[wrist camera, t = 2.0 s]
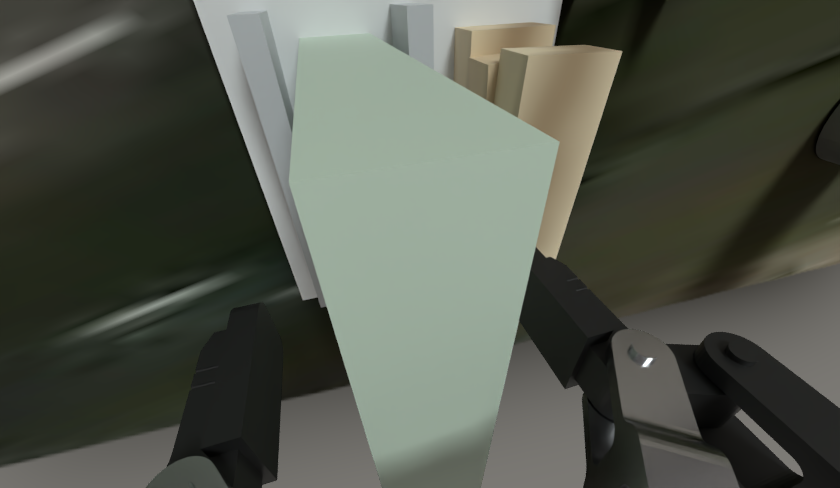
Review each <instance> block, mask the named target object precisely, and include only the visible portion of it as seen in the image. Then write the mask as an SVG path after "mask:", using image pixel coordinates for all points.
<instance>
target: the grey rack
mask: <svg viewBox="0 0 840 488" xmlns="http://www.w3.org/2000/svg"><path fill="white" fill-rule="evenodd" d="M193 1H194V4H195V6H196V9H197V12H198V15H199V17H200V20H201V23H202V26H203V28H204V31H205V34H206V37H207V39H208V42H209V45H210V48H211V50H212V53H213V56H214V58H215V61H216V64H217V67H218V69H219V72H220V75H221V78H222V80H223V83H224V86H225V89H226V91H227V94H228V97H229V100H230V102H231V105H232V108H233V110H234V113H235V116H236V119H237V121H238V124H239V127H240V130H241V132H242V135H243V138H244V141H245V143H246V146H247V149H248V152H249V154H250V157H251V160H252V162H253V165H254V168H255V171H256V173H257V176H258V179H259V182H260V184H261V187H262V190H263V193H264V195H265V198H266V201H267V204H268V206H269V209H270V212H271V215H272V217H273V220H274V223H275V225H276V228H277V231H278V234H279V236H280V239H281V242H282V245H283V247H284V250H285V253H286V256H287V258H288V261H289V264H290V267H291V269H292V272H293V275H294V277H295V280H296V283H297V286H298V288H299V291H300V294H301V297H302V299H303V300H308V299H312V298H317V297H318V300H319V303H320V306H321V308H322V307H326V303H325V299H324V296H323V293H322V290H321V286H320V283H319V280H318V277H317V273H316V270H315V267H314V263H313V260H312V257H311V254H310V250H309V247H308V244H307V241H306V237H305V234H304V231H303V228H302V224H301V221H300V218H299V215H298V211H297V208H296V205H295V201H294V198H293V195H292V192H291V188H290V185H289V173H290V159H291V145H292V131H293V117H294V103H295V90H296V76H297V62H298V48H299V38H307V37H322V36H336V35H351V34H365V33H370V34H372V35H374V36H375V37H377V38H379V39H381V40H382V41H384V42H386V43H388V44H389V45H391V46H393V47H395V48H396V49H398V50H400V51H402V52H403V53H405V54H407V55H409V56H410V57H412V58H414V59H416V60H417V61H419V62H421V63H423V64H424V65H426V66H428V67H430V68H431V69H433V70H435V71H437V72H438V73H440V74H442V75H444V76H445V77H447V78H449V79H451V80H452V81H454V43H455V27H468V26H482V25H497V24H512V23H526V22H535V23H543V24H552V25H556V28H555V34H554V39H553V45H552V46H554V44H555V39H556V33H557V28H558V22H559V17H560V11H561V6H562V1H563V0H193Z"/></svg>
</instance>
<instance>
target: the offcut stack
mask: <svg viewBox="0 0 840 488" xmlns="http://www.w3.org/2000/svg"><path fill="white" fill-rule="evenodd" d="M555 28H556V25H552V24H543V23H535V22H526V23H512V24H497V25H482V26H468V27H455V43H454V82H456V83H458V84H459V85H461V86H463V87H465V88H466V89H468V90H470V91H472V92H473V93H475V94H477V95H479V96H480V97H482V98H484V99H486V100H487V101H489V102H491V103H493V104H494V105H496V106H498V107H500V108H501V109H503V110H505V111H507V112H508V113H510V114H512V115H514V116H515V117H517V118H519V119H521V120H522V121H524V122H526V123H528V124H529V125H531V126H533V127H535V128H536V129H538V130H540V131H542V132H543V133H545V134H547V135H549V136H550V137H552V138H554V139H556V140H557V141H559V142H560V143H559V147H558V152H557V156H556V160H555V165H554V169H553V173H552V178H551V182H550V187H549V191H548V195H547V200H546V204H545V208H544V213H543V217H542V222H541V226H540V230H539V235H538V239H537V243H536V248H537V249H538V250H539V251H540V252H541V253H542V254H543V255H544V256H545V257H546V258H547V257H552V258H554V259H556V257H557V254H558V250H559V247H560V244H561V241H562V238H563V235H564V232H565V229H566V225H567V222H568V219H569V216H570V213H571V210H572V207H573V204H574V201H575V197H576V194H577V191H578V188H579V185H580V182H581V179H582V176H583V172H584V169H585V166H586V163H587V160H588V157H589V154H590V151H591V148H592V144H593V141H594V138H595V135H596V132H597V129H598V126H599V123H600V119H601V116H602V113H603V110H604V107H605V104H606V101H607V98H608V95H609V91H610V88H611V85H612V82H613V79H614V76H615V73H616V70H617V67H618V63H619V60H620V57H621V54H622V51H617V50H612V49H606V48H600V47H595V46H589V45H571V46H552V45H553V39H554V34H555Z"/></svg>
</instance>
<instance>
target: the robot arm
mask: <svg viewBox="0 0 840 488" xmlns="http://www.w3.org/2000/svg"><path fill="white" fill-rule="evenodd" d="M816 154H817V156H818V157H819V158H820V159H822V160H825V161H828V162H832V163H835V164H838V165H840V104H839V105H838V107H837V108H836V109H835V111H834V112H833V113H832V115H831V116H830V118H829V119H828V121H827V122H826V124H825V125H824V127H823V129H822V131H821V133H820V135H819V138H818V141H817V144H816ZM519 321H520V323H521V324H522V326H523V327H524V329H525V330H526V332H527V333H528V335H529V336H530V338H531V339H532V341H533V342H534V343H535V345H536V346H537V348H538V349H539V351H540V352H541V354H542V355H543V357H544V358H545V360H546V361H547V363H548V364H549V366H550V367H551V369H552V370H553V372H554V373H555V375H556V376H557V378H558V379H559V381H560V382H561V384H562V385H563V387H564V388H565V389H567V388H570V387H573V386H576V385H579V386H580V387H581V388H582V390H583V391H584V393H583V397H582V407H583V421H584V437H585V453H586V477H585V481H584V486H583V488H840V408H838V407H837V406H836V405H835V404H833V403H832V402H831V401H829V400H828V399H827V398H826V397H824V396H823V395H822V394H820V393H819V392H818V391H816V390H815V389H814V388H813V387H811V386H810V385H809V384H807V383H806V382H805V381H804V380H802V379H801V378H800V377H798V376H797V375H796V374H794V373H793V372H792V371H790V370H789V369H788V368H787V367H785V366H784V365H783V364H781V363H780V362H779V361H778V360H776V359H775V358H773V357H772V356H771V355H770V354H768V353H767V352H766V351H765V350H763V349H762V348H761V347H759V346H757V345H756V344H755V343H753V342H751V341H749V340H747V339H745V338H743V337H741V336H738V335H735V334H731V333H726V332H714V333H711V334H709V335H708V336H706V338H705V339H704V340H703V341H702V343H701V344H700V345H680V344H665V343H664V342H662V341H661V340H660V339H658V338H657V337H655V336H653V335H651V334H649V333H647V332H644V331H641V330H636V329H628V328H627V327H626V326H625V325H624V324H623V323H622V322H621V321H620V320H619V319H618V318H617V317H616V316H615V315H614V314H613V313H612V312H611V311H610V310H609V309H608V308H607V307H606V306H605V305H604V304H603V303H602V302H601V301H600V300H599V299H598V298H597V297H596V296H595V295H594V294H593V293H592V291H591V290H590V289H587V286H586V285H585V284H584V283H583V282H582V281H581V280H580V279H579V280H578V278H577V276H576V275H575V274H574V273H573V272H572V271H571V270H570V269H569V268H568V267H567V266H566V265H564V264H563V263H561V262H559V261H557V260H556V259H554V258H552V257H547V258H546V257H545V256H544V255H543V254H542V253H541V252H540V251H539V250H538V249H537V248H535V252H534V257H533V261H532V265H531V270H530V274H529V279H528V283H527V287H526V292H525V296H524V300H523V305H522V309H521V314H520V318H519ZM282 372H283V347H282V342H281V338H280V335H279V333H278V331H277V329H276V327H275V325H274V322H273V320H272V318H271V316H270V314H269V312H268V310H267V308H266V306H265V304H264V303H262V302H261V303H256V304H252V305H247V306H243V307H238V308H234V309H232V310H231V313H230V317H229V321H228V326H227V330H223V331H219V332H215V333H214V334H213V335H212V336H211V338H210V339H209V340H208V342H207V343H206V345H205V346H204V347H203V349H202V350H201V353H200V356H199V360H198V363H197V367H196V374H194V377H193V381H192V384H191V388H192V389H191V391H190V392H189V395H188V399H187V402H186V406H185V409H184V413H183V416H182V420H181V423H180V427H179V431H178V434H177V438H176V441H175V445H174V448H173V452H172V455H171V458H170V461H169V463H168V465H167V467H166V468H165V469H164V470H162V471H161V472H160V473H159V474H158V475H157V476H156V477H155V478H154V479H153V480H152V481H151V482H150V483H149V484H148V486H147V487H146V488H262V485H263V484H266V483H270V482H273V481H276V480H277V472H278V452H279V432H280V412H281V411H280V410H281V392H282ZM741 409H742V410H743V411H744V412H745V413H746V414H747V415H748V416H749V417H750V418H751V419H753V420H754V421H755V422H756V423H757V424H758V425H759V426H760V427H761V428H762V429H763V430H764V431H765V432H766V433H767V434H768V435H770V436H771V437H772V438H773V439H774V440H775V441H776V442H777V443H778V444H779V445H780V446H781V447H782V448H783V449H784V450H786V452H788V453H789V454H790V455H791V456H792V457H793V458H794V459H795V461H796V462H797V463H798V464H799V466H800V468H801V470H802V472H803V477H802V476H800V475H798V474H796V473H795V472H793V471H792V470H791V469H789V468H788V467H787V466H786V465H785V464H784V463H783V462H782V461H781V460H779V458H778V457H777V456H776V455H775V454H774V453H773V452H772V451H771V450H769V448H768V447H766V446H765V445H764V444H763V443H762V442H761V441H760V440H759V439H758V438H757V437H756V436H755V435H754V434H753V433H752V432H751V431H750V430H749V429H748V428H747V427H746V426H745V425H744V424H743V423H742V422H741V421H740V420H739V419H738V418H737V417H736V416H735V414H736V413H738V412H739V411H740V410H741Z"/></svg>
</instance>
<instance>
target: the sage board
mask: <svg viewBox="0 0 840 488" xmlns="http://www.w3.org/2000/svg"><path fill="white" fill-rule="evenodd" d="M559 143H560V142H559V141H557V140H556V139H554V138H552V137H550V136H549V135H547V134H545V133H543V132H542V131H540V130H538V129H536V128H535V127H533V126H531V125H529V124H528V123H526V122H524V121H522V120H521V119H519V118H517V117H515V116H514V115H512V114H510V113H508V112H507V111H505V110H503V109H501V108H500V107H498V106H496V105H494V104H493V103H491V102H489V101H487V100H486V99H484V98H482V97H480V96H479V95H477V94H475V93H473V92H472V91H470V90H468V89H466V88H465V87H463V86H461V85H459V84H458V83H456V82H454V81H452V80H451V79H449V78H447V77H445V76H444V75H442V74H440V73H438V72H437V71H435V70H433V69H431V68H430V67H428V66H426V65H424V64H423V63H421V62H419V61H417V60H416V59H414V58H412V57H410V56H409V55H407V54H405V53H403V52H402V51H400V50H398V49H396V48H395V47H393V46H391V45H389V44H388V43H386V42H384V41H382V40H381V39H379V38H377V37H375V36H374V35H372V34H370V33H365V34H351V35H336V36H322V37H307V38H299V48H298V62H297V76H296V90H295V103H294V117H293V131H292V145H291V159H290V173H289V185H290V188H291V192H292V195H293V198H294V201H295V205H296V208H297V211H298V215H299V218H300V221H301V224H302V228H303V231H304V234H305V237H306V241H307V244H308V247H309V250H310V254H311V257H312V260H313V263H314V267H315V270H316V273H317V277H318V280H319V283H320V286H321V290H322V293H323V296H324V299H325V303H326V306H327V309H328V312H329V316H330V319H331V322H332V326H333V329H334V332H335V335H336V339H337V342H338V345H339V348H340V352H341V355H342V358H343V361H344V365H345V368H346V371H347V375H348V378H349V381H350V384H351V388H352V391H353V394H354V397H355V401H356V404H357V407H358V410H359V414H360V417H361V420H362V423H363V427H364V430H365V433H366V437H367V440H368V443H369V446H370V450H371V453H372V456H373V459H374V463H375V466H376V469H377V472H378V476H379V479H380V482H381V486H382V488H481V484H482V480H483V476H484V471H485V467H486V462H487V458H488V454H489V449H490V445H491V441H492V436H493V432H494V427H495V423H496V418H497V414H498V410H499V405H500V401H501V397H502V392H503V388H504V383H505V379H506V374H507V370H508V366H509V362H510V357H511V353H512V349H513V344H514V340H515V335H516V331H517V327H518V322H519V318H520V314H521V309H522V305H523V300H524V296H525V292H526V287H527V283H528V279H529V274H530V270H531V265H532V261H533V257H534V252H535V248H536V243H537V239H538V235H539V230H540V226H541V222H542V217H543V213H544V208H545V204H546V200H547V195H548V191H549V187H550V182H551V178H552V173H553V169H554V165H555V160H556V156H557V152H558V147H559Z"/></svg>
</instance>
